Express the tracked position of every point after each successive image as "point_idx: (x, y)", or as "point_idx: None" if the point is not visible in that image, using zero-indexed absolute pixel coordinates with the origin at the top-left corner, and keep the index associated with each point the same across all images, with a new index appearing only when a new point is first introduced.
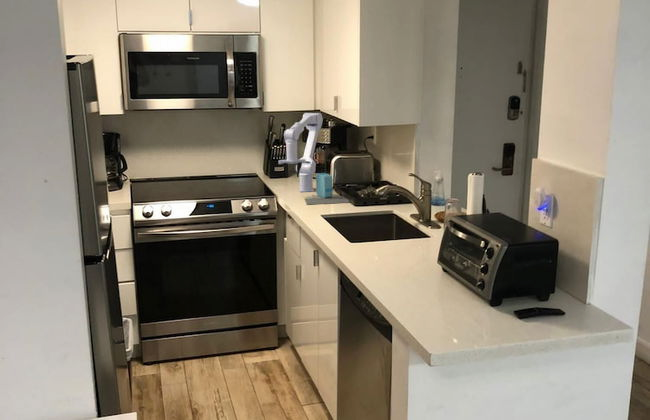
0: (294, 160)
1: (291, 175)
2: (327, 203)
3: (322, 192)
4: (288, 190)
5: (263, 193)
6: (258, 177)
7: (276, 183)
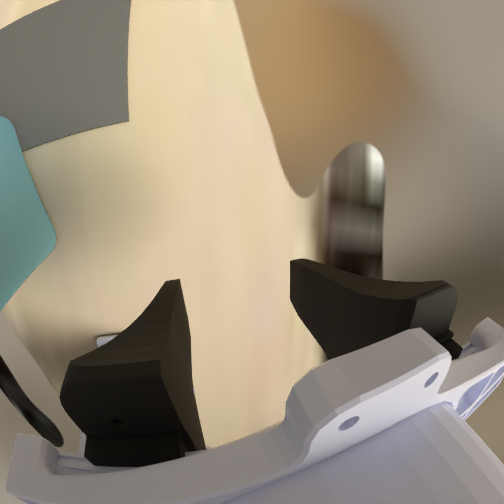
0: (300, 477)
1: None
2: (26, 16)
3: (4, 149)
4: (244, 365)
5: None
6: None
7: None
